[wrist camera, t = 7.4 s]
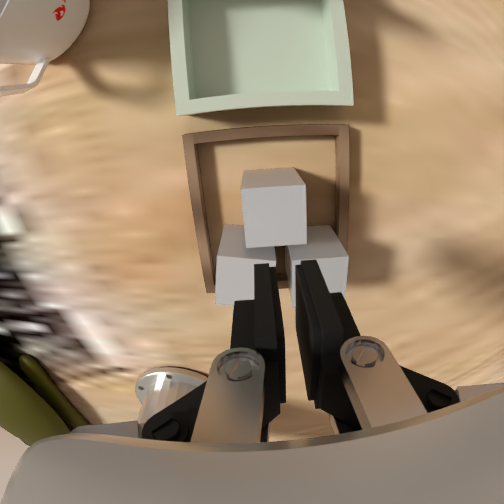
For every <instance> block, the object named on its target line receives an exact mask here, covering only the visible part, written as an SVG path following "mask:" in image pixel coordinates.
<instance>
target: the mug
mask: <svg viewBox="0 0 504 504" xmlns="http://www.w3.org/2000/svg"><path fill="white" fill-rule="evenodd" d="M89 9H90V0H0V64H21V65H36V66H35V68H34V70H33V72H32V74H31V76H30V78H29V80H28V82H27V84H18V85H9V86H0V96H7V95H14V94H21V93H25V92H26V91H28V90H30V89H32V88H34V87H36V86H37V85H38V84H39V82H40V80H41V78H42V76H43V73H44V71H45V69H46V67H47V65H48V63H49V62H50V61H52V60H54V59H56V58H57V57H59V56H60V55H61V54H63V53H64V52H65V51H66V50H67V49H68V48H69V47H70V46H71V45H72V44H73V43H74V41H75V40H76V39H77V37H78V36H79V34H80V33H81V31H82V29H83V27H84V25H85V23H86V21H87V18H88V14H89Z"/></svg>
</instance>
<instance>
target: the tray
mask: <svg viewBox="0 0 504 504" xmlns="http://www.w3.org/2000/svg"><path fill="white" fill-rule="evenodd" d="M298 135H335V146H336V216H335V234H336V236H337V237H338V239H339V241H340V242H341V244H342V246H343V247H344V249H345V251H347V235H348V213H349V125H346V124H297V125H273V126H257V127H244V128H233V129H223V130H213V131H205V132H197V133H190V134H184V135H182V137H183V145H184V153H185V161H186V169H187V176H188V183H189V190H190V197H191V204H192V210H193V217H194V223H195V230H196V236H197V242H198V248H199V254H200V259H201V265H202V271H203V276H204V282H205V287H206V292H207V293H215V286H216V278H215V272H214V266H213V260H212V253H211V247H210V240H209V233H208V226H207V219H206V212H205V205H204V198H203V190H202V182H201V175H200V167H199V158H198V150H197V143H205V142H214V141H223V140H234V139H245V138H259V137H275V136H298ZM276 276H277V283H278V289H283V288H289V285H288V279H287V274H276Z"/></svg>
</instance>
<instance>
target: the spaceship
mask: <svg viewBox="0 0 504 504" xmlns="http://www.w3.org/2000/svg"><path fill="white" fill-rule="evenodd" d="M18 360H19V365H20V367H21V369H22V370H23V372H24V373H25V374H26V376H27V377H28V378H29V379H30V381H31V382H32V383H33V384H34V386H35V387H36V388H37V389H38V390H39V392H40V393H41V394H42V395H43V396H44V398H45V399H46V400H47V401H48V402H49V403H50V404H51V406H52V407H53V408H54V409H55V410H56V411H57V412H58V413H59V414H60V415H61V416H62V418H63V419H64V420H65V421H66V422H67V423H68V424H69V425H70V426H71V427H72V428H73V429H75V428H77V427H80V426H86V425H90V424H89V423H88V422H87V421H86V420H85V419H84V418H83V417H82V415H81V414H80V413H79V412H78V411H77V410H76V409H75V408H74V407H73V405H72V404H71V403H70V402H69V401H68V400H67V398H66V397H65V396H64V395H63V394H62V392H61V391H60V390H59V389H58V388H57V386H56V385H55V384H54V382H53V381H52V380H51V379H50V377H49V376H48V375H47V373H46V372H45V371H44V369H43V368H42V367H41V365H40V364H39V363H38V362H37V361H36V360H35V359H34V358H32V357H31V356H29V355H21V356H20V357H19V359H18ZM0 426H1V427H2V428H4V429H5V430H7V431H8V432H10V433H11V434H13V435H14V436H16V437H18V438H20V439H21V440H22V441H23V442H24V443H25V444H27V445H29V446H31V445H32V444H33V443H35V442H36V441H38V440H41V439H44V438H46V437H50V436H56V435H63V434H70V431H69V429H68V427H67V426H66V424H65V423H64V421H63V420H62V419H61V418H60V417H59V415H58V414H57V413H56V412H55V411H54V410H53V409H52V408H51V407H50V406H49V405H48V404H47V403H46V402H45V400H44V399H43V398H41V397H40V396H39V395H38V394H37V393H36V392H35V391H34V390H33V389H32V388H31V387H30V386H29V385H28V384H26V383H25V382H24V381H23V380H22V379H21V378H20V377H18V376H17V375H16V374H15V373H14V372H13V371H11V370H10V369H9V368H8V367H7V366H5V365H4V364H3V363H2V362H1V361H0Z"/></svg>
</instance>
